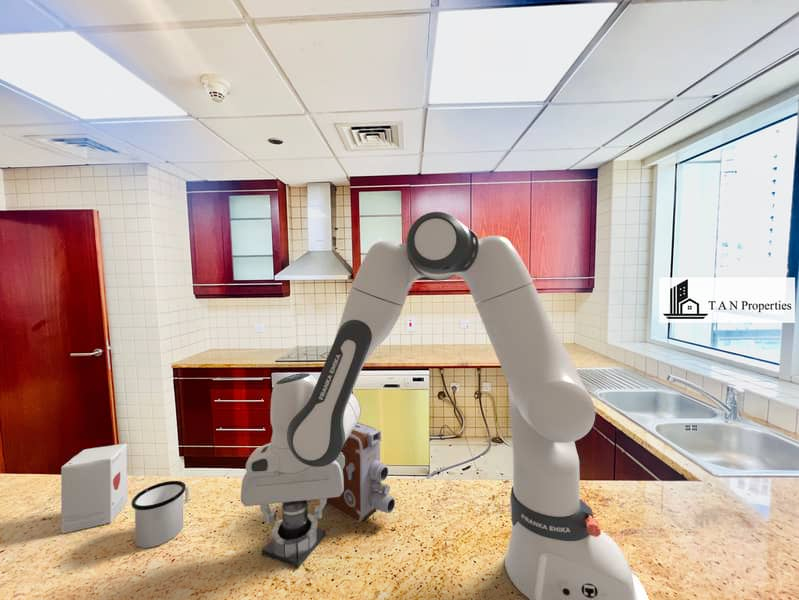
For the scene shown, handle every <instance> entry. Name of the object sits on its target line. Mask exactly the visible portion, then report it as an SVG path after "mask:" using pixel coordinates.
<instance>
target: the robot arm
mask: <svg viewBox="0 0 799 600" xmlns="http://www.w3.org/2000/svg"><path fill="white" fill-rule="evenodd" d="M405 241H406V242H405V243H397V242H395V241H390V240H389V241H388V240H385V241H383V240H382V241H379V242H376V243H374V244H372V245H371V247H370V248H369V250H368V251H367V253H366V254H365V256H364V258H363V260H362V262H361V264H360V266H359V268H358V271H357V273H356V274H355V277H354V279H353V282H352V284H351V286H350V290H349V293H348V296H347V299H346V303H345V305H344V308H343V311H342V316H341V319H340V322H339V326H338V329H337V331H336V333H335V336H334V340H333V343H332V346H331V348H330V350H329V353H328V355H327V358H326V360H325V362H324V365H323V367H322V370H321V371H320V375H319V377H318V379H317V378H315V376H314V375H312V374H310V373H307V372H306V373H305V372H303V373H302V372H301V373H296V374H291V375H288V376H285V377H283V378H281V379H279V380H277V382H275V384H274V385H273V388H272V391H271V398H270V413H269V414H270V417H269V418H270V424H271V428H272V435H271V439H270V442H269V443H266V444H264V445H262V446H261V445H260V446H259V447H257V448H256V449H254V451H253V452H252V453H251V454H250V455H249V457H248V459H247V461H246V463H245V471H246V472H245V473H244V475H243V478H242V482H241V485H240V486H241V487H240V502H241V505H242V504H243V506H244V507H251V506H253V507H254V506H260V507H259V509H260V511H261V512H262V514H264V516H265V518H266V525H272V524H276V523H275V522H276V519H277V514H276V513H277V510H276V509H272V507H271V506H270V505H272V504H282V503H283V502H293V501H303V500H308V501H310V500H319V505H315V507H314V510H313V511H314V512H313V515H314V519H317V520H318V519H322V518H323V509H324V508H325V506H326V502H327V498H332V497H339V496H340V495H341V494H342V493H343V491H344V477H343V470H342V469H343V468H344V466H345V456H344V454H343V453H342V452H341V450H342V448H343V446H344V443H345V442H346V440H347V439H348V437H349V435H350V434H351V432H352V431H353V429H354V427H355V426H356V424H357V422H358V423H359V420H360V418H361V413H362V412H361V411H362V409H361V405H360V401H359V400H358V398H357V397H356V395H355V394H354V393H353V391H354V389H355V386H356V383H357V381H358V379H359V376H360V374H361V371H362V369H363V367H364V365H365V364H366V362H367V361H368V359H370V358H369V357H370V356H371V355H372V354H373V353H374V352H375V351H376V350H377V348H378V347H379V346H380V345H381V344H382V343H383V342H384V341H385V340H386V339H387V338H388V336H389V335H390V334H391V332H392V331H393V329H394V328H395V327H394V326H395V325H396V323H397V322H398V320H399V317H400V315H401V313H402V311H403V307H404V305H405V302H406V299H407V297H408V294H409V291H410V289H411V287H412V285H413V284H414V283H415V282H416V281H417V280H418V281H419V280H422V281H444V280H449V279H451V278H452V277H454V276H456V277H459V278H460V279H462V280H463V281H464V283H465V284H466V286H467V288H468V289H469V291H470V294H471V296H472V299H473V301H474V304H475V306H476V309H477V311H478V314H479V316H480V319H481V321H482V323H483V327H484V329H485V331H486V334H487V336H488V338H489V341H490V343H491V346H492V348H493V351H494V353H495V355H496V357H497V360H498V362H499V365H500V368H501V369H502V372H503V374H504V376H505V379H506V381H507V386H508V398H509V399H508V401H509V404H508V405H509V419H510V431H511V443H512V444H511V445H512V487H511V490H510V496H509V497H510V499H509V500H510V501H509V506H510V507H509V509H510V517H511V523H512V524H511V531H510V539H509V544H508V548H507V551H506V554H505V558H504V566H505V567H504V568H505V570H506V571H505V572H506V573H507V575H508V577H509V579H510V581H511V582H512V584H513V585H514V586H515V587H516V588H517V589H518V591H520V592H521V593H522V594H523V595H524V596H525V597H526V598H527V599H529V600H650V598H649V596H648V594H647V592H646V589H645V587H644V585H643V584H642V581H641V580H640V578H639V577H638V576H637V574H635V572H634V571H633V569H631V567H630V565H629V563H628V560H627V558H626V556H625V554H624V553H623V550H622V549H621V547H620V546H619V545H618V543H617V542H616V541H615V540H614V539H613V538H612V537H611V536H609V535H608V534H607V533H605V532H604V531H603V530H601V527H600V524H599V522H598V520H597V519H595V518H594V513H593V510H592V508H591V507H590V506H589V502H588V501H587V499H586V498H585V497H583V500H582V499H581V497H580V490H581V489H580V459H579V455H578V452H577V448H576V447H577V446H576V444H575V443H576V441H578V440H580V439H582V438H583V437H585V436H587V434H588V433H589V432H590V431H591V430H592V428H593V426H594V423H595V419H596V409H595V404H594V402H593V400H592V397H591V395H590V393H589V391H588V390H587V388H586V386H585V384H584V383H583V380H582V378H581V376H580V375H579V372H578V370H577V369H576V367H575V365H574V363H573V361H572V359H571V357H570V355H569V353H568V352H567V350H566V347H565V346H564V344H563V342H562V341H561V339H560V337H559V335H558V334H557V332H556V330H555V329H554V327H553V325H552V322H551V321H550V318H549V316H548V314H547V311H546V309H545V306H544V304H543V302H542V300H541V297H540V296H539V293H538V290H537V288H536V286H535V284H534V282H533V278H532V277H531V274H530V271H529V270H528V269H527V266H526V264H525V263H524V260H523V259H522V257H521V255H520V254H519V253H518V251H517V250H516V248H515V246H514V244H512V242H511V241H510V240H509V239H508V238H506V237H504V236H501V235H487V236H483V237H481V238H479V236H478V235H477V234H476V232H474V231H473V230H471V229H470V228H469V227H467V226H466V225H465V224H464V223H463V222H461V221H460V220H459V219H457V218H456V217H454V216H453V215H450V214H449V213H445V212H443V211H432V212H428V213H425V214H423V215H421V216H419V218H417V219H416V220H415V221H414V222H413V223H412V224H411V226H410V227H409V230H408V231H407V236H406V240H405Z"/></svg>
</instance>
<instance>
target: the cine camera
mask: <svg viewBox="0 0 799 600" xmlns="http://www.w3.org/2000/svg"><path fill="white" fill-rule="evenodd" d="M381 442H382V430H380V429H377V428H376V427H373V426H370V425H367V424H364V423H361V422H359V421H358V422H357V424H356V426H355V427H354V429H353V431H352V432H351V434H350V435H349V437H348V439H347V440H346V442H345V443H344V446H343V448H342V450H341V452H342V453H343V454H344V456H345V466H344V468H343V469H342V470H343V477H344V491H343V493H342V494H341V495H340V496H339V497H332V498H327V502H326V504H327V505H328V506H329V507H331V508H333V509H335V510H336V511H338V512H340V513H342V514H343V515H345V516H347V517H348V518H350V519H352V520H353V521H356V522H358V523H360V522H362V521H364V520H365V519H367V518H368V517H369V516H370V515H371V514H372V513H374V512H375V511H376V510H378V511H380V512H383V513H385V514H391V513H392V512H393V510H394V508H395V505H396V499H395V498H394V496H391V494H389V492H390V489H391V487H390V485H388V484H386V483H383V481H385V480H386V479H387V477H388V474H389V468H388V467H387V464H386V463H384V462H381V449H380V448H381ZM326 504H325V505H326Z"/></svg>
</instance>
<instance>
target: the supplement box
mask: <svg viewBox="0 0 799 600" xmlns="http://www.w3.org/2000/svg"><path fill="white" fill-rule="evenodd" d="M60 468H61V470H60V471H61V472H60V475H61V476H60V477H61V483H60V484H61V490H60V491H61V494H60V495H61V501H60V502H61V513H60V514H61V534H66V533H71V532H76V531H81V530H85V528H86V529H89V528H90V529H91V528H95V527H98V525H99V526H104V525H108V524H107V523H109V524H111V522H113V521H114V520H115V519H116V517H117V516H118V515H119V513H120V512H121V511H122V509H123V508H124V507H125V505H126V504H127V502H128V444H127V443H120V444H113V445H107V446H99V447H92V448H86V449H83V450H81V451H80V452H79V453H78V454H76V455H74V456H73V457H72V458H71V459H69V461H68V462H65V464H64V465H62V466H61V467H60ZM125 503H126V504H125ZM120 510H121V511H120ZM117 514H118V515H117ZM114 518H115V519H114ZM103 524H104V525H103ZM94 526H95V527H94Z"/></svg>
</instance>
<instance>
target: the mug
mask: <svg viewBox="0 0 799 600" xmlns="http://www.w3.org/2000/svg"><path fill="white" fill-rule="evenodd" d="M189 489H190V488H189V485H186V483H185V482H183V481H179V480H166V481H164V482H163V481H162V482H159V483H156V484H153V485H151V486H149V487H147V488H145V489H143V490H142V491H140V492H139V493H137V494H136V495H135V496H134V497H133V498H132V500H131V506H130V507H131V508H132V509H134V521H135V522H134V525H135V526H134V530H135V532H134V536H135V537H134V538H135V541H134V542H135V545H136V547H138V548H142V549H147V548H149V549H150V548H155V547H157V546H158V547H159V546H161V545H163V544H165V543H167V542H169V541H171V540H172V539H174V537H176V536H177V535H178V534H180V533H181V531H182V530H183V528H184V508H186V506H187V505H188V503H189V500H190V499H189V498H190V493H189V492H190V490H189ZM184 494H185V495H184ZM184 499H185V501H184Z"/></svg>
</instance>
